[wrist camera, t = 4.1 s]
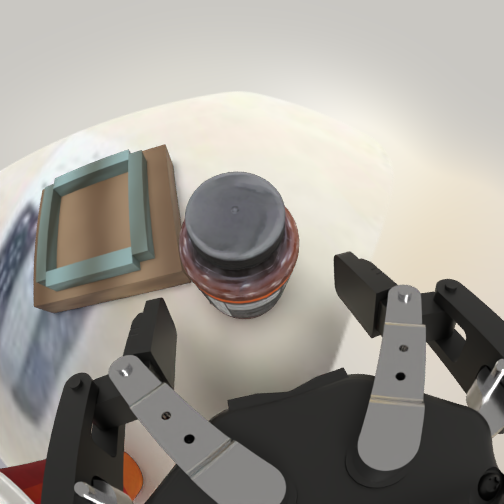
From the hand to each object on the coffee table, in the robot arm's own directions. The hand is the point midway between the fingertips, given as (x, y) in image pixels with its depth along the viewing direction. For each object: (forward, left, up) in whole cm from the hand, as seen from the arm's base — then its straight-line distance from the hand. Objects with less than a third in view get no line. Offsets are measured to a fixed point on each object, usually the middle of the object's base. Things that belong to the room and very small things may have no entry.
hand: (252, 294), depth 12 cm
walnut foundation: (-11, +10, -8) cm, 17 cm away
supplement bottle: (0, +3, -9) cm, 9 cm away
